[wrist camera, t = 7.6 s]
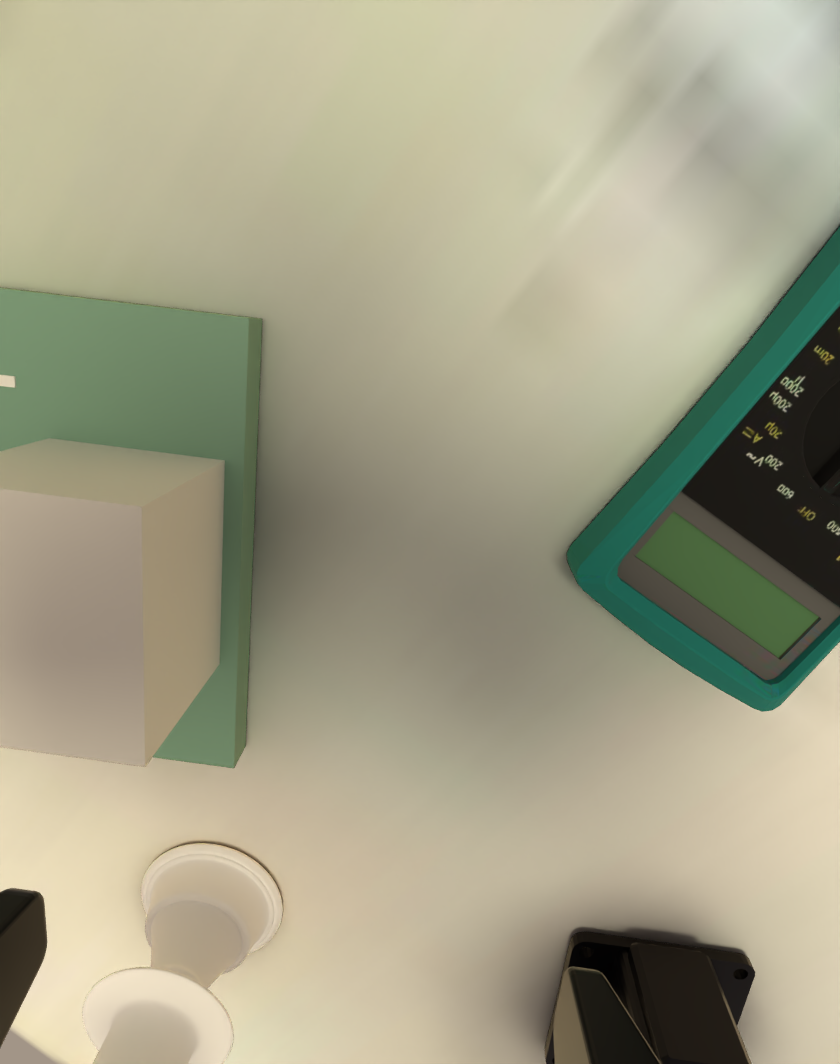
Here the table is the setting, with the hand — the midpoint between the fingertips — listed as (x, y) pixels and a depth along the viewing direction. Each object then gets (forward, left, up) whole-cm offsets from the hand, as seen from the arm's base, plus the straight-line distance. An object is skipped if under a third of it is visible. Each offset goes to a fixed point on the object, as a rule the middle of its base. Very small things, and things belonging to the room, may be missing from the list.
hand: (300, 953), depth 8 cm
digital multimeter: (+6, -11, -14) cm, 19 cm away
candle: (-14, +6, -13) cm, 20 cm away
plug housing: (0, +8, -12) cm, 14 cm away
